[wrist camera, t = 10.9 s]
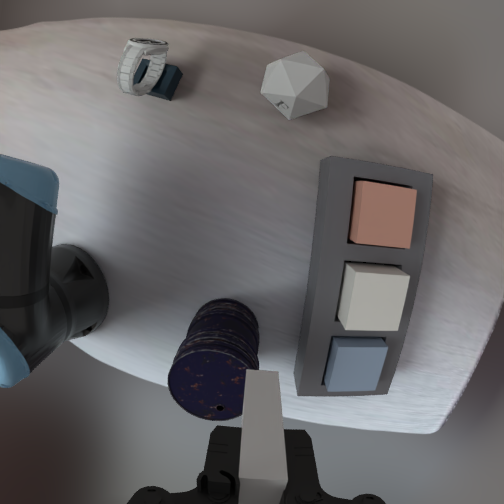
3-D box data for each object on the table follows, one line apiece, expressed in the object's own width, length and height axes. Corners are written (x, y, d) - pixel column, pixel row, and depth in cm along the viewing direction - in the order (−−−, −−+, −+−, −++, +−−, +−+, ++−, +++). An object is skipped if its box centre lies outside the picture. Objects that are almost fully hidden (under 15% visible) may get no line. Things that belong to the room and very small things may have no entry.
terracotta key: (344, 236, 39) (356, 243, 34) (350, 181, 37) (363, 180, 33) (393, 241, 39) (409, 248, 34) (399, 189, 37) (416, 189, 33)
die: (253, 73, 38) (242, 95, 32) (299, 35, 33) (299, 47, 27) (293, 111, 42) (291, 142, 36) (339, 78, 37) (349, 101, 31)
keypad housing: (293, 373, 47) (297, 395, 41) (320, 160, 40) (330, 155, 34) (375, 373, 47) (387, 394, 41) (412, 175, 40) (433, 174, 34)
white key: (335, 313, 40) (345, 329, 35) (344, 261, 38) (356, 272, 33) (383, 315, 40) (397, 330, 35) (393, 265, 38) (410, 276, 33)
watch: (188, 62, 38) (168, 29, 27) (165, 112, 39) (136, 90, 28) (154, 54, 37) (127, 22, 26) (132, 102, 39) (96, 81, 28)
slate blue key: (321, 371, 43) (327, 391, 38) (330, 329, 42) (338, 347, 37) (365, 371, 43) (375, 390, 38) (376, 331, 42) (388, 347, 37)
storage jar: (183, 305, 45) (152, 356, 30) (249, 290, 44) (244, 340, 29) (204, 362, 47) (185, 425, 32) (266, 350, 46) (268, 414, 31)
